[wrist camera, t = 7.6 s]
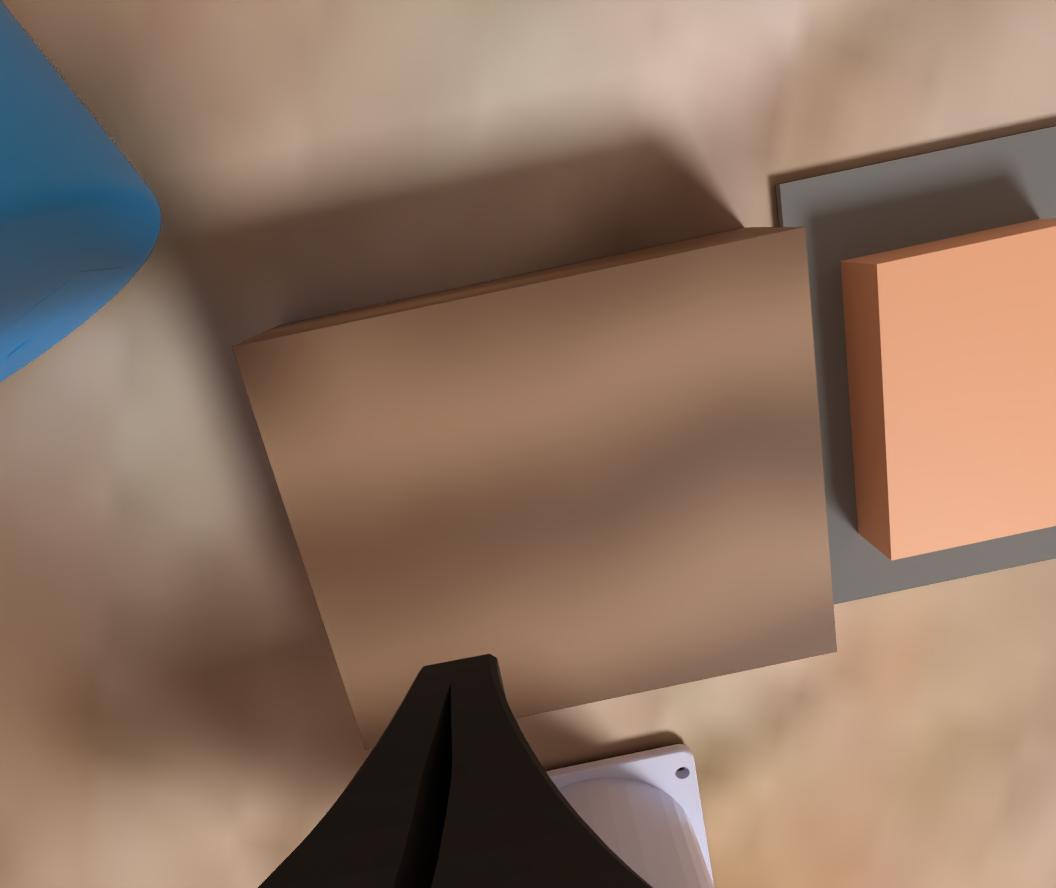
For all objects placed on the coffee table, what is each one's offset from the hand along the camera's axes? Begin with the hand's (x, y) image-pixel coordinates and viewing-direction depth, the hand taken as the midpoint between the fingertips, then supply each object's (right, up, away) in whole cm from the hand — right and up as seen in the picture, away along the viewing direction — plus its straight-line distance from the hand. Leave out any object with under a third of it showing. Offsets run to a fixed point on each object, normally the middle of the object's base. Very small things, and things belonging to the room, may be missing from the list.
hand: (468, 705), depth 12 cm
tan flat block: (+2, +4, +10) cm, 11 cm away
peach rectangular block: (+14, +6, +7) cm, 17 cm away
